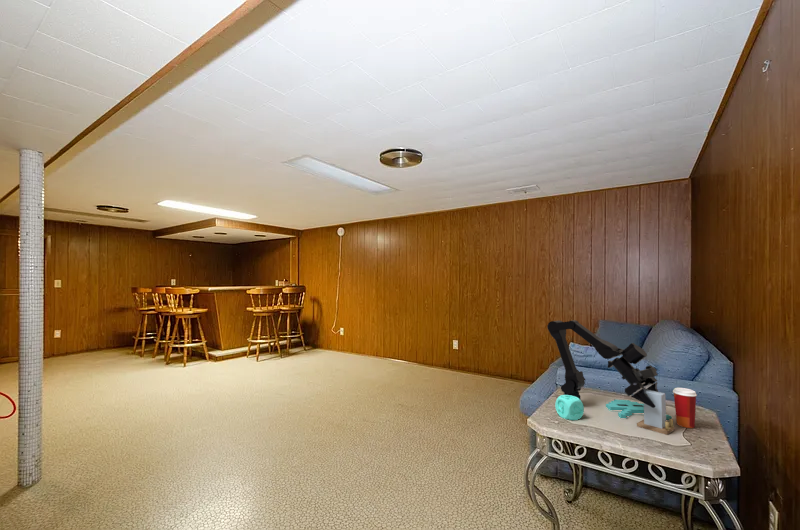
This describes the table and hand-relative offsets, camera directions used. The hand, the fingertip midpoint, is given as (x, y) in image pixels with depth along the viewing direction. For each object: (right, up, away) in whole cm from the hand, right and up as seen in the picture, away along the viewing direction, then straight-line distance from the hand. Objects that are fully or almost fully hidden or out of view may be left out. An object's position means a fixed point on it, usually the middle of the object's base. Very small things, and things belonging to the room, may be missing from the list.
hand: (658, 405), depth 140 cm
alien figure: (+2, -11, +19) cm, 22 cm away
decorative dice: (-29, -10, +12) cm, 33 cm away
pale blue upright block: (-1, -8, +1) cm, 8 cm away
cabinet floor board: (-1, -9, +1) cm, 9 cm away
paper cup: (+13, -10, +3) cm, 17 cm away
